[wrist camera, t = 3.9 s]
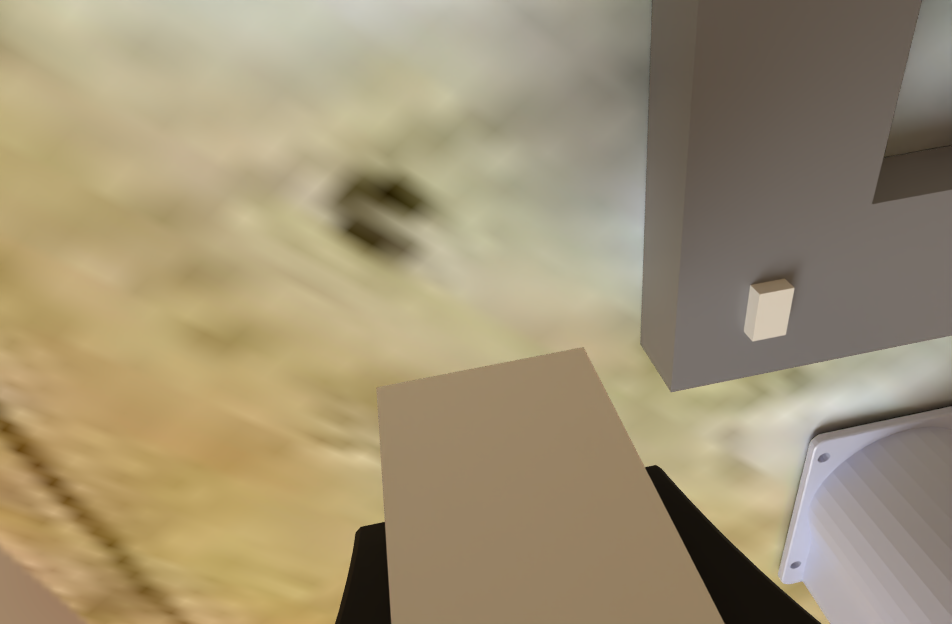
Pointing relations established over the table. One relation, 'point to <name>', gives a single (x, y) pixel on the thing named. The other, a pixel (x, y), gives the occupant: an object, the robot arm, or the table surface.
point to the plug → (525, 504)
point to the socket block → (786, 190)
